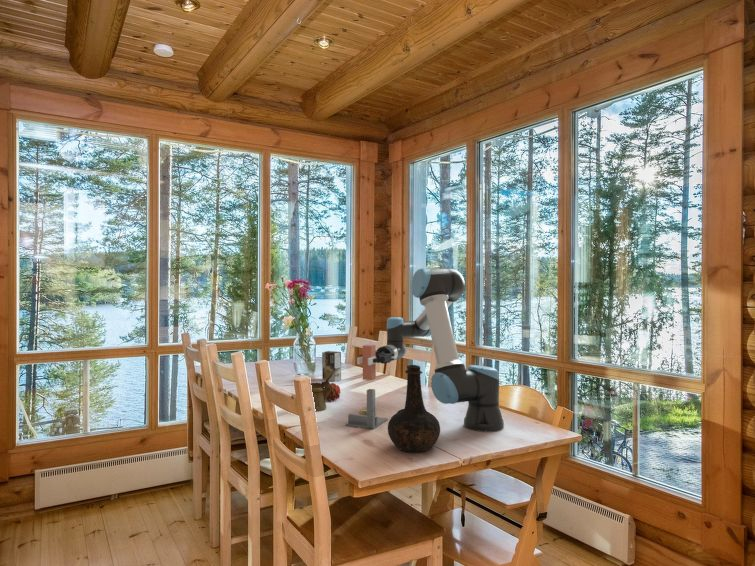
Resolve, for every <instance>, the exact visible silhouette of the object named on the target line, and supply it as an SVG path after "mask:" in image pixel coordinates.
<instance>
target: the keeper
mask: <svg viewBox="0 0 755 566" xmlns="http://www.w3.org/2000/svg"><path fill="white" fill-rule="evenodd" d="M347 417H348V422H345V426H346V427H351V428H352V427H354V428H359V427H360V429H367V430H368V429H370V430H375V429H376V428H378V427H379V426H381V425H382V424H384V423H386V422H387V421H388V420H389V419H388V417H383V416H382V417H381V416H377V411H376V389H374V388H373V389H372V388H369V389H367V390H366V409H359V410H358V414H356V413H349V414H348V415H347Z"/></svg>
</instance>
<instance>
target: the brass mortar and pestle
mask: <svg viewBox="0 0 755 566" xmlns="http://www.w3.org/2000/svg"><path fill="white" fill-rule="evenodd" d="M335 370H336V368H335V369H333V370H332V371H331V373H330V374H329V376H328V377H327V379H326V381H322V382H310V383H311V385H312V392H313V397H314V402H315V409H316V412H322V410H323V411H325V410H326V409H327V403H326V402H327V397H328V395H329V394H330V391H331V385H330V384H331V383H330V381H329V379H330V378H331V377H332V375H333V374H334V372H335ZM324 387H326V388H327V392H326V393H324V392H323V390H325V389H324Z"/></svg>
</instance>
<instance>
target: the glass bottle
mask: <svg viewBox="0 0 755 566" xmlns="http://www.w3.org/2000/svg"><path fill="white" fill-rule="evenodd" d="M406 368H407V369H406V370H405V371H404V373H406V375H407V377H406V378H407V379H406V380H407V381H406V395H405V404H404V408H402V409H399V410H398V411H397V412H396V413H395V414H393V415H392V416H391V417H390V419H389V421H388V423H387V433H388V436H389V439H390V441H391V442H392V443H393V445H395V447H396V448H398V449H400V450H401V451H404V452H409V453H421V452H425V451H427V450H429V449H431V448H432V447H434V445H436V443H437V442H438V440H439V437H440V435H441V426H440V422H439V420H438V419H437V418H436V416H435V415H434V414H432V413H430V412H428V410H427V409H426V407H425V403H424V399H423V391H422V383H421V382H422V381H421V374H423V371H421V366H420V365H416V364H409V365H407V366H406Z"/></svg>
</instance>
